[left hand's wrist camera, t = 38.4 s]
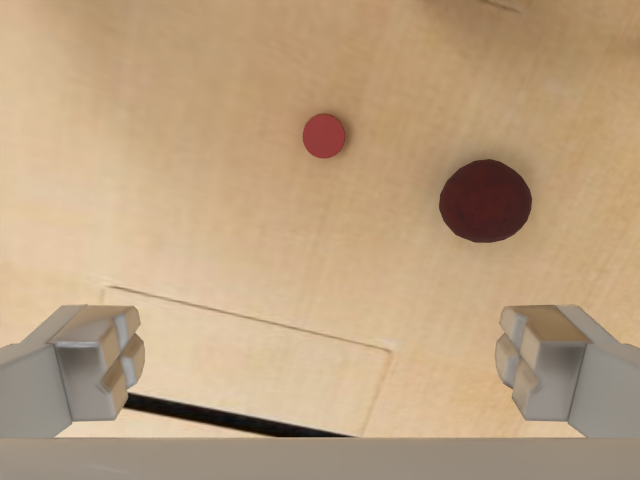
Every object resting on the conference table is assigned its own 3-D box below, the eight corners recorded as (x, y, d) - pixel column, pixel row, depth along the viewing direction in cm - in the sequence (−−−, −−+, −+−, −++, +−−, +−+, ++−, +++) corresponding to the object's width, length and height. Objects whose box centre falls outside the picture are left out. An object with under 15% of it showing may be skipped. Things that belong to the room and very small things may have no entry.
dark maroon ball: (513, 219, 45) (547, 244, 38) (436, 234, 45) (455, 261, 39) (509, 146, 42) (544, 160, 36) (427, 162, 43) (446, 179, 36)
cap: (342, 112, 41) (343, 114, 39) (344, 153, 43) (345, 156, 41) (302, 115, 41) (301, 116, 40) (305, 156, 43) (304, 159, 41)
